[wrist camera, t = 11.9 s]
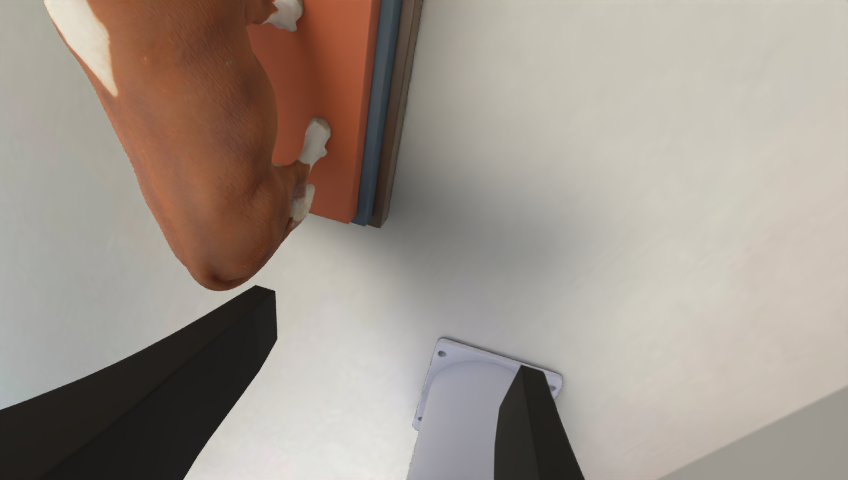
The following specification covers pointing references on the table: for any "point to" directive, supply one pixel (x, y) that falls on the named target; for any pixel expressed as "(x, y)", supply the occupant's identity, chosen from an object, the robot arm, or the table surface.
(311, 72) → the top plank
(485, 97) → the table surface
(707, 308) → the table surface
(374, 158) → the middle plank
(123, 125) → the bull figurine
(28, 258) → the table surface
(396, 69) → the bottom plank
